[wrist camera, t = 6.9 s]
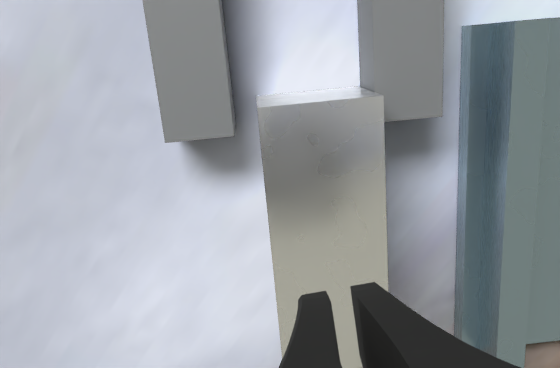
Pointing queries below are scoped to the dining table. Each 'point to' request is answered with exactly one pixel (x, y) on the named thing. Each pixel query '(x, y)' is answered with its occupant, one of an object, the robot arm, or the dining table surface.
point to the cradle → (509, 188)
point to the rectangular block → (325, 201)
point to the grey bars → (216, 73)
